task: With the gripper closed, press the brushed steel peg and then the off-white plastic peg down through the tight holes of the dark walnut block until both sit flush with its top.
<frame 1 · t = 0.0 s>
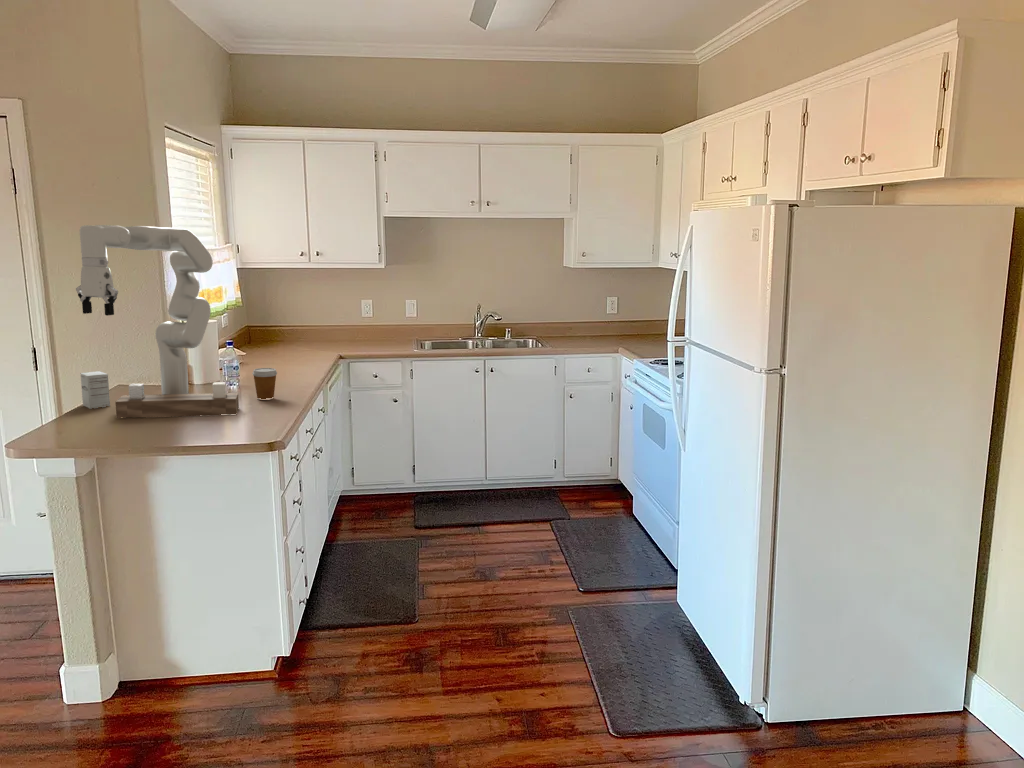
hand: (98, 314, 257), 37 cm above the counter, tool pointing down, fingers open, 9 cm apart
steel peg: (136, 392, 273), point 8 cm above the counter, slide at 5.0 cm
supplement box: (96, 406, 285), on the counter
walnut block: (179, 413, 278), on the counter
disposable coffee cup: (265, 399, 306), on the counter
white peg: (219, 390, 280), point 8 cm above the counter, slide at 5.0 cm
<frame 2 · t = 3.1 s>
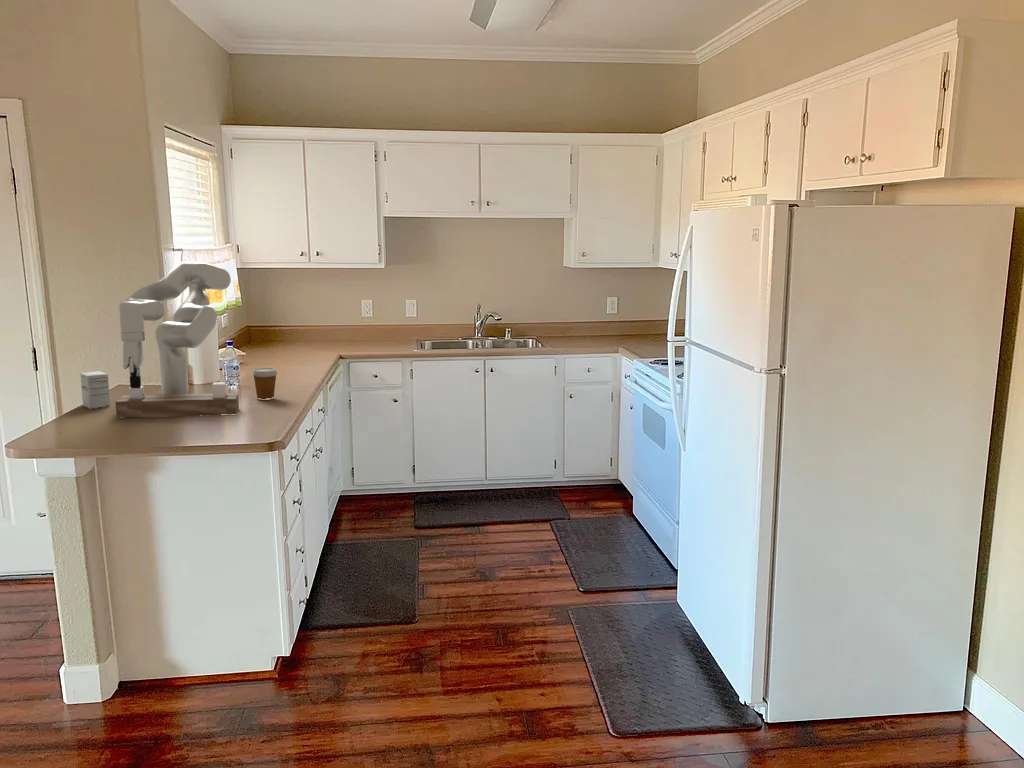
hand: (135, 387, 272), 10 cm above the counter, tool pointing down, fingers closed
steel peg: (136, 394, 273), point 7 cm above the counter, slide at 4.1 cm, touching gripper
everything else where it was.
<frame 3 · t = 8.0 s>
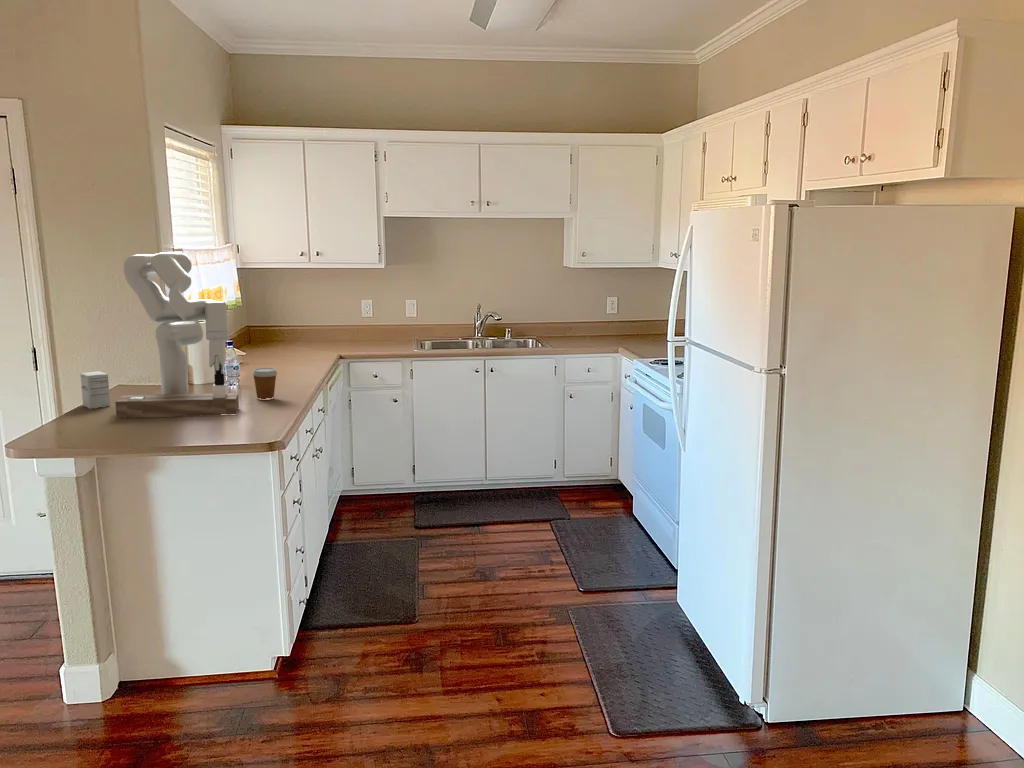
hand: (219, 384, 279), 11 cm above the counter, tool pointing down, fingers closed
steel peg: (137, 405, 274), point 3 cm above the counter, slide at 0.2 cm
white peg: (219, 392, 280), point 8 cm above the counter, slide at 4.5 cm, touching gripper
everything else where it was.
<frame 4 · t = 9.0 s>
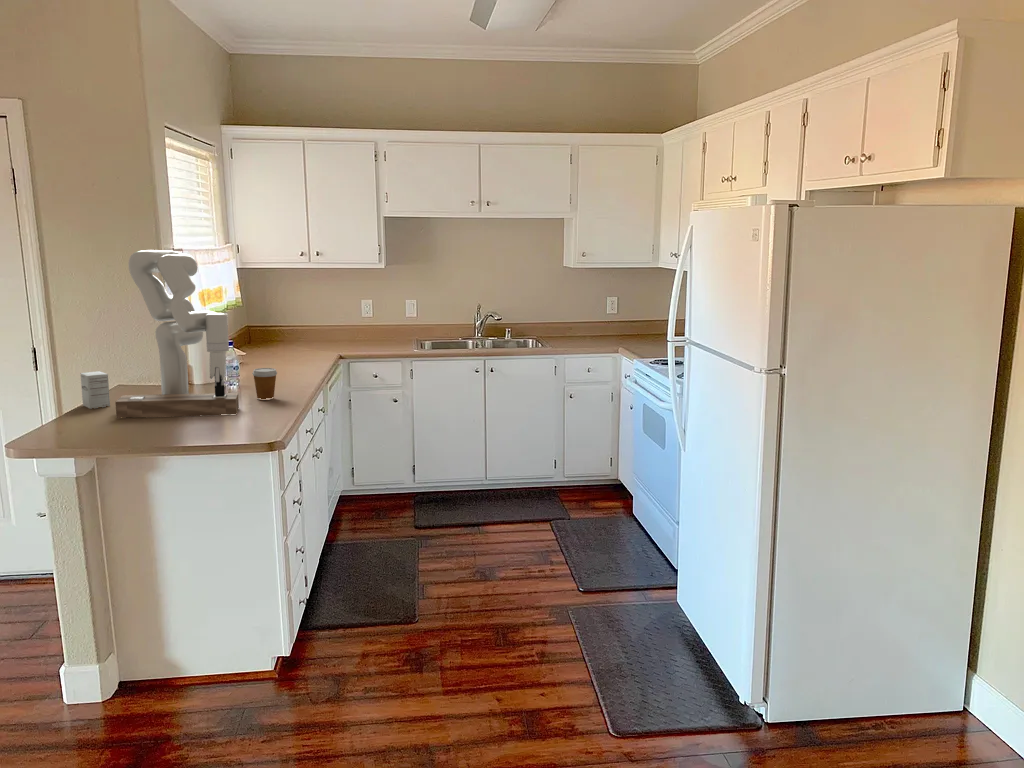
hand: (220, 396, 280), 6 cm above the counter, tool pointing down, fingers closed
white peg: (220, 403, 281), point 3 cm above the counter, slide at 0.2 cm, touching gripper
everything else where it was.
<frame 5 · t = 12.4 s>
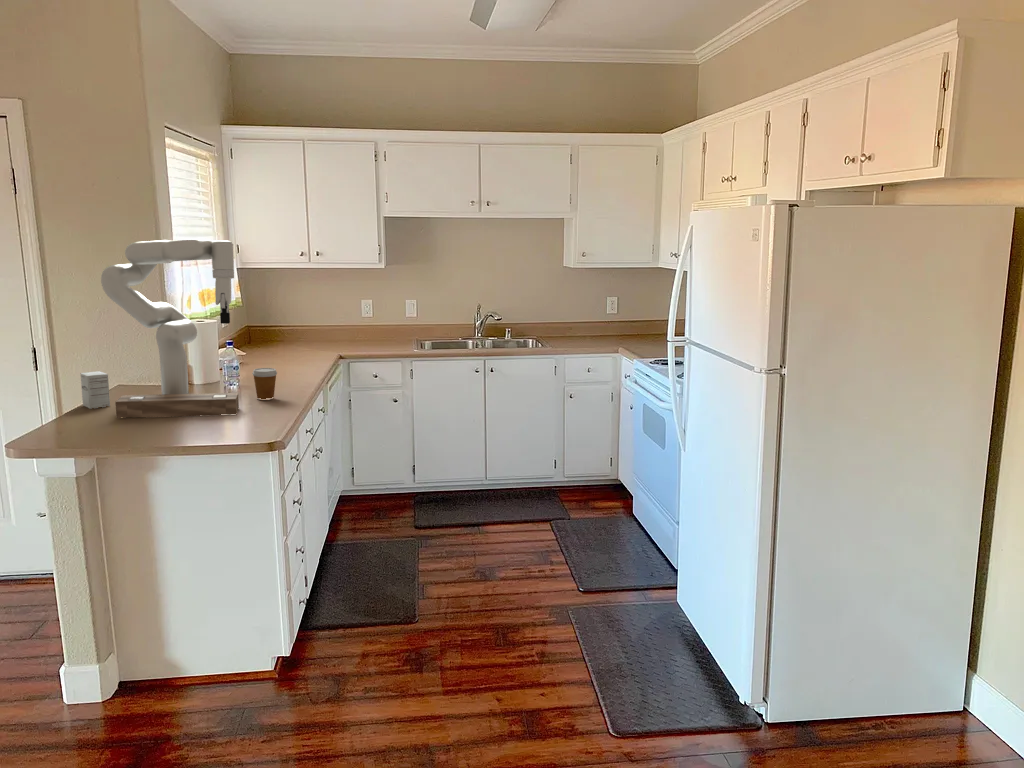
hand: (225, 323, 286), 32 cm above the counter, tool pointing down, fingers closed
white peg: (220, 403, 281), point 3 cm above the counter, slide at 0.2 cm
everything else where it was.
at the end: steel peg slide at 0.2 cm; white peg slide at 0.2 cm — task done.
